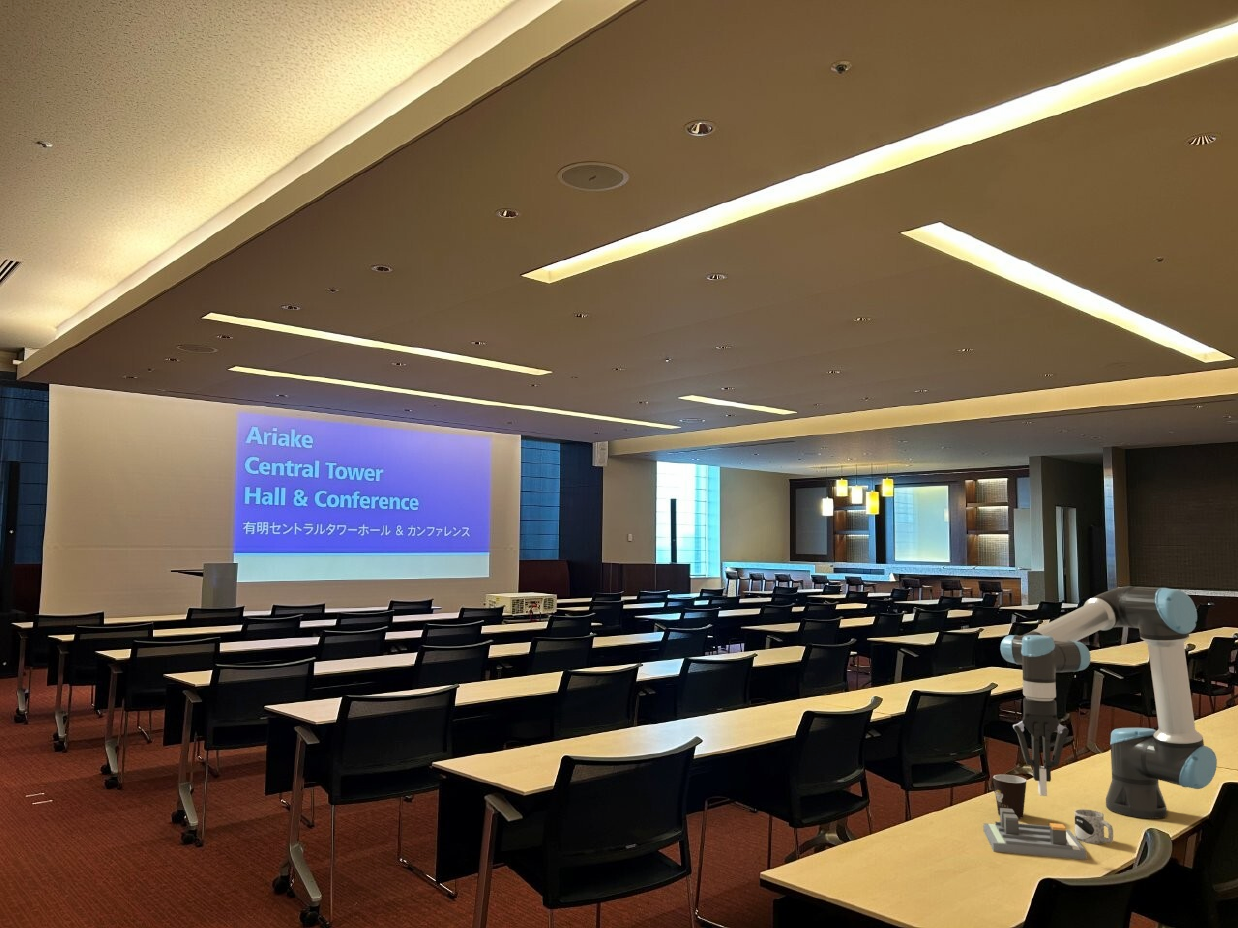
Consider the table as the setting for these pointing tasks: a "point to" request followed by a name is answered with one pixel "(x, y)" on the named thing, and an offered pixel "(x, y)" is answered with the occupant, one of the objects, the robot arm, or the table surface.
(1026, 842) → the panel
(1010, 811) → the block
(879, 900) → the table surface
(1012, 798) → the coffee mug
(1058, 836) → the block
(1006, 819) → the block
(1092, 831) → the mug
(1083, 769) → the table surface
